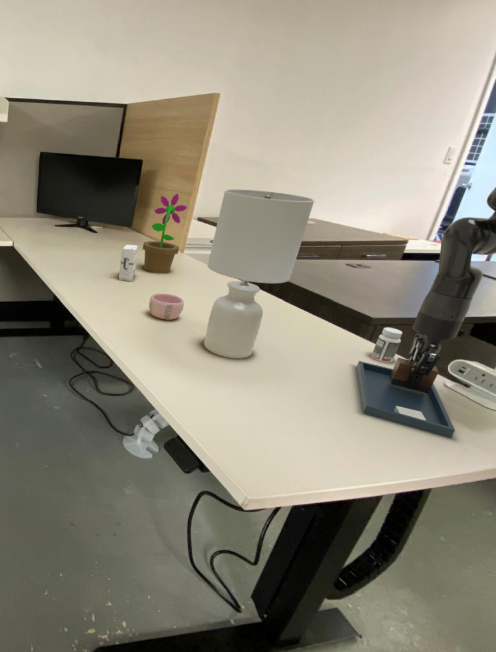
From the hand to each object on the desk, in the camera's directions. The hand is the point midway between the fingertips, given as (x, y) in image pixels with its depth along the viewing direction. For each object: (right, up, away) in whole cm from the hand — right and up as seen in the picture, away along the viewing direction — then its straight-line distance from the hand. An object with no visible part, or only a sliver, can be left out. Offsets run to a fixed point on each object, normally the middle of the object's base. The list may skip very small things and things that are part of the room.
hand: (409, 383), depth 106 cm
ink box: (-51, +34, +71) cm, 93 cm away
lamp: (-35, +7, +16) cm, 39 cm away
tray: (-5, -3, -2) cm, 6 cm away
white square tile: (-9, -6, -11) cm, 15 cm away
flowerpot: (-35, +39, +84) cm, 99 cm away
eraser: (0, -1, 0) cm, 1 cm away
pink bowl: (-46, +17, +36) cm, 61 cm away
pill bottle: (+6, +5, +17) cm, 19 cm away
